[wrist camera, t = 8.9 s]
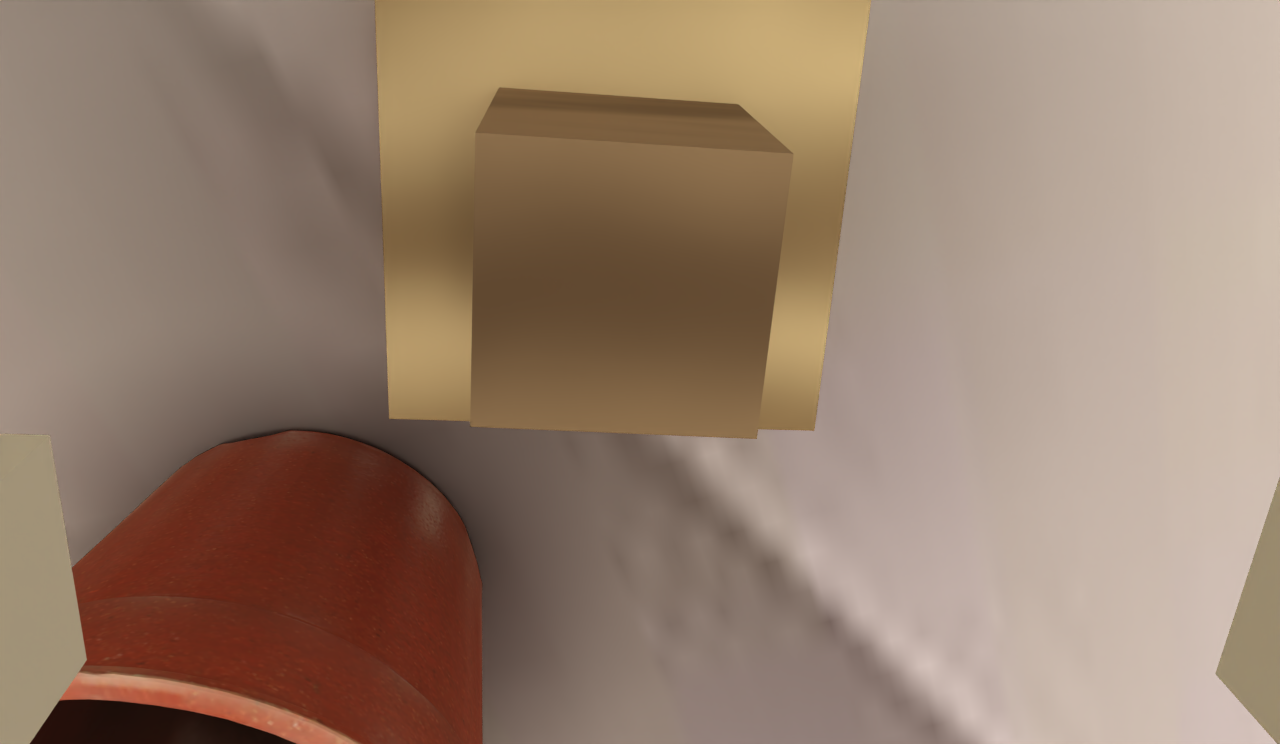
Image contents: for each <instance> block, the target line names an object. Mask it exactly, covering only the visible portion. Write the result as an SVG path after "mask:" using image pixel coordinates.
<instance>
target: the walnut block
mask: <svg viewBox="0 0 1280 744" xmlns="http://www.w3.org/2000/svg"><path fill="white" fill-rule="evenodd" d="M793 155H794V154H793V153H792V152H791V151H790V150H789V149H788V148H787V147H786V146H784V145H783V144H782V143H781V142H780V141H779V140H778V139H777V138H776V137H774V136H773V135H772V134H771V133H770V132H769V131H768V130H767V129H766V128H764V127H763V126H762V125H761V124H760V123H759V122H758V121H757V120H755V119H754V118H753V117H752V116H751V115H750V114H749V113H748V112H747V111H745V110H744V109H743V108H742V107H741V106H740V105H739V104H728V103H714V102H700V101H686V100H671V99H657V98H643V97H629V96H615V95H601V94H586V93H572V92H558V91H544V90H529V89H515V88H501V87H499V88H498V90H497V92H496V94H495V96H494V98H493V100H492V102H491V104H490V106H489V107H488V109H487V111H486V113H485V115H484V117H483V119H482V121H481V123H480V125H479V126H478V128H477V130H476V132H475V175H474V233H473V291H472V348H471V406H470V427H489V428H513V429H536V430H560V431H584V432H607V433H631V434H654V435H678V436H702V437H725V438H749V439H757V433H758V425H759V417H760V409H761V402H762V394H763V386H764V379H765V371H766V363H767V355H768V348H769V340H770V332H771V325H772V317H773V309H774V302H775V294H776V286H777V278H778V271H779V263H780V255H781V248H782V240H783V232H784V225H785V217H786V209H787V201H788V194H789V186H790V178H791V171H792V163H793Z"/></svg>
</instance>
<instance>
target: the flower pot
mask: <svg viewBox="0 0 1280 744" xmlns="http://www.w3.org/2000/svg"><path fill="white" fill-rule="evenodd" d="M72 573H73V579H74V585H75V591H76V597H77V603H78V609H79V615H80V621H81V627H82V633H83V640H84V646H85V652H86V658H87V661H86V662H85V663H84V665H83V666H82V668H81V669H80V671H79V672H78V674H77V675H76V677H75V678H74V680H73V681H72V682H71V684H70V685H69V687H68V688H67V690H66V691H65V693H64V694H63V696H62V697H61V699H60V700H59V701H58V703H57V704H56V706H55V707H54V709H53V710H52V712H51V713H50V715H49V716H48V718H47V719H46V721H45V722H44V723H43V725H42V726H41V728H40V729H39V731H38V732H37V734H36V735H35V737H34V738H33V740H32V741H31V742H30V744H482V581H481V578H480V573H479V569H478V565H477V561H476V558H475V555H474V551H473V548H472V545H471V542H470V540H469V537H468V534H467V530H466V527H465V525H464V524H463V522H462V520H461V518H460V517H459V515H458V513H457V512H456V511H455V509H454V508H453V507H452V505H451V504H450V503H449V501H448V500H447V499H446V498H445V496H444V495H443V494H442V493H441V492H440V491H439V490H438V489H437V488H436V487H435V486H433V485H432V484H431V483H430V482H429V481H428V480H427V479H426V478H424V477H423V476H422V475H420V474H419V473H418V472H416V471H415V470H414V469H412V468H411V467H409V466H408V465H406V464H404V463H403V462H401V461H400V460H398V459H396V458H395V457H393V456H391V455H389V454H387V453H385V452H383V451H381V450H379V449H377V448H374V447H372V446H369V445H367V444H364V443H361V442H358V441H355V440H352V439H349V438H345V437H341V436H337V435H332V434H328V433H320V432H313V431H294V430H289V431H285V432H281V433H278V434H274V435H270V436H265V437H259V438H254V439H249V440H244V441H239V442H234V443H225V444H220V445H218V446H216V447H214V448H212V449H210V450H208V451H206V452H204V453H202V454H200V455H198V456H196V457H195V458H194V459H192V460H191V461H189V462H188V463H186V464H185V465H183V466H182V467H181V468H180V469H178V470H177V471H176V472H175V473H174V474H173V475H172V476H171V477H169V478H168V479H167V480H166V481H165V482H164V483H163V484H162V485H161V486H160V487H159V488H157V489H156V490H155V491H154V492H153V493H152V494H151V495H150V496H149V497H148V498H147V499H146V500H145V501H143V502H142V503H141V504H140V505H139V506H138V507H137V508H136V509H135V510H134V511H133V512H132V513H131V514H130V515H129V516H128V517H126V518H125V519H124V520H123V521H122V522H121V523H120V524H119V525H118V526H117V527H116V528H115V529H114V530H112V531H111V532H110V533H109V534H108V535H107V536H106V537H105V538H104V539H103V540H102V541H101V542H99V543H98V544H97V545H96V546H95V547H94V548H93V549H92V550H91V551H90V552H89V553H88V554H86V555H85V556H84V557H83V558H82V559H81V560H80V561H79V562H78V563H77V564H76V565H74V566H73V567H72Z"/></svg>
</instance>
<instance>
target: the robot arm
mask: <svg viewBox="0 0 1280 744" xmlns="http://www.w3.org/2000/svg"><path fill="white" fill-rule="evenodd" d="M86 661H87V658H86V652H85V646H84V640H83V633H82V627H81V621H80V615H79V609H78V603H77V597H76V591H75V585H74V579H73V573H72V567H71V561H70V555H69V549H68V543H67V537H66V530H65V524H64V518H63V512H62V506H61V500H60V494H59V488H58V482H57V476H56V470H55V464H54V458H53V452H52V446H51V440H50V435H30V434H0V744H30V742H31V741H32V740H33V738H34V737H35V735H36V734H37V732H38V731H39V729H40V728H41V726H42V725H43V723H44V722H45V721H46V719H47V718H48V716H49V715H50V713H51V712H52V710H53V709H54V707H55V706H56V704H57V703H58V701H59V700H60V699H61V697H62V696H63V694H64V693H65V691H66V690H67V688H68V687H69V685H70V684H71V682H72V681H73V680H74V678H75V677H76V675H77V674H78V672H79V671H80V669H81V668H82V666H83V665H84V663H85V662H86ZM1216 675H1217V676H1218V677H1219V679H1220V680H1221V681H1222V682H1223V683H1224V684H1225V685H1226V686H1227V688H1228V689H1229V690H1230V691H1231V692H1232V693H1233V694H1234V695H1235V697H1236V698H1237V699H1238V700H1239V701H1240V702H1241V703H1242V704H1243V706H1244V707H1245V708H1246V709H1247V710H1248V711H1249V712H1250V713H1251V715H1252V716H1253V717H1254V718H1255V719H1256V720H1257V721H1258V722H1259V724H1260V725H1261V726H1262V727H1263V728H1264V729H1265V730H1266V731H1267V733H1268V734H1269V735H1270V736H1271V737H1272V738H1273V739H1274V740H1275V742H1276V743H1277V744H1280V478H1279V481H1278V484H1277V487H1276V490H1275V493H1274V496H1273V499H1272V503H1271V506H1270V509H1269V512H1268V515H1267V518H1266V521H1265V524H1264V527H1263V530H1262V533H1261V536H1260V539H1259V542H1258V545H1257V548H1256V551H1255V554H1254V558H1253V561H1252V564H1251V567H1250V570H1249V573H1248V576H1247V579H1246V582H1245V585H1244V588H1243V591H1242V594H1241V597H1240V600H1239V603H1238V606H1237V610H1236V613H1235V616H1234V619H1233V622H1232V625H1231V628H1230V631H1229V634H1228V637H1227V640H1226V643H1225V646H1224V649H1223V652H1222V655H1221V658H1220V662H1219V665H1218V668H1217V671H1216Z"/></svg>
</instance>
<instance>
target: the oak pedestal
mask: <svg viewBox="0 0 1280 744" xmlns="http://www.w3.org/2000/svg"><path fill="white" fill-rule="evenodd" d="M870 5H871V0H375V24H376V53H377V82H378V111H379V140H380V169H381V198H382V227H383V256H384V285H385V314H386V343H387V371H388V400H389V419H417V420H453V421H470V406H471V348H472V291H473V233H474V175H475V132H476V130H477V128H478V126H479V125H480V123H481V121H482V119H483V117H484V115H485V113H486V111H487V109H488V107H489V106H490V104H491V102H492V100H493V98H494V96H495V94H496V92H497V90H498V88H499V87H501V88H515V89H529V90H544V91H558V92H572V93H586V94H601V95H615V96H629V97H643V98H657V99H671V100H686V101H700V102H714V103H728V104H739V105H740V106H741V107H742V108H743V109H744V110H745V111H747V112H748V113H749V114H750V115H751V116H752V117H753V118H754V119H755V120H757V121H758V122H759V123H760V124H761V125H762V126H763V127H764V128H766V129H767V130H768V131H769V132H770V133H771V134H772V135H773V136H774V137H776V138H777V139H778V140H779V141H780V142H781V143H782V144H783V145H784V146H786V147H787V148H788V149H789V150H790V151H791V152H792V153H793V154H794V155H793V163H792V171H791V178H790V186H789V194H788V201H787V209H786V217H785V225H784V232H783V240H782V248H781V255H780V263H779V271H778V278H777V286H776V294H775V302H774V309H773V317H772V325H771V332H770V340H769V348H768V355H767V363H766V371H765V379H764V386H763V394H762V402H761V409H760V417H759V425H758V429H776V430H811V431H814V428H815V421H816V413H817V406H818V398H819V391H820V383H821V375H822V368H823V360H824V353H825V345H826V338H827V330H828V322H829V315H830V307H831V300H832V292H833V285H834V277H835V269H836V262H837V254H838V247H839V239H840V232H841V224H842V216H843V209H844V201H845V194H846V186H847V179H848V171H849V164H850V156H851V148H852V141H853V133H854V126H855V118H856V111H857V103H858V95H859V88H860V80H861V73H862V65H863V58H864V50H865V42H866V35H867V27H868V20H869V12H870Z"/></svg>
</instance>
